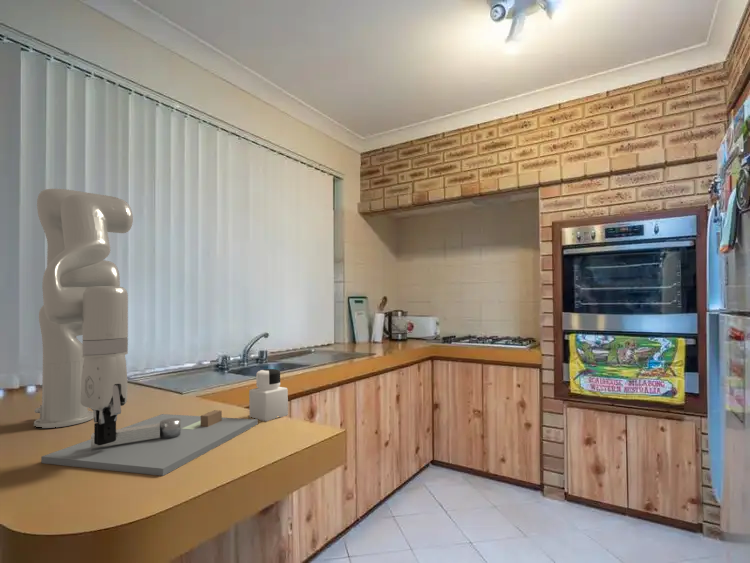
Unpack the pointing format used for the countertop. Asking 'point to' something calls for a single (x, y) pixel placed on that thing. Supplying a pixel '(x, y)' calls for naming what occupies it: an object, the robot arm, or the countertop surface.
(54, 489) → the countertop surface
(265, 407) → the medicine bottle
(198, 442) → the latch plate
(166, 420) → the swing bar
